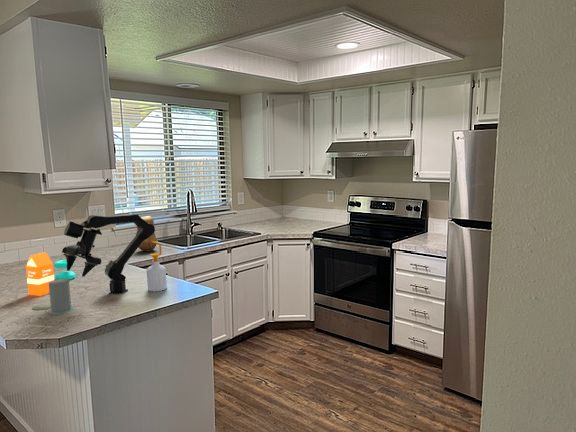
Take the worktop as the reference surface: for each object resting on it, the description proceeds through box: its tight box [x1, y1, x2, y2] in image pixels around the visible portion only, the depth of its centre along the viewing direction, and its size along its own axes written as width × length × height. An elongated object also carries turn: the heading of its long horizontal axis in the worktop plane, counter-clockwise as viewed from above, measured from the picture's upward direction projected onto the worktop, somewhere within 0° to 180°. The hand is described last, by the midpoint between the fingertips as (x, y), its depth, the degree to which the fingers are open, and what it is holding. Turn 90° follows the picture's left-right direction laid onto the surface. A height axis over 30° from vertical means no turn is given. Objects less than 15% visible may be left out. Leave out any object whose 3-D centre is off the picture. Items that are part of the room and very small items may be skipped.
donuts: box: [53, 259, 76, 281], centre depth 238 cm, size 10×10×10 cm
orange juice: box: [25, 251, 55, 297], centre depth 212 cm, size 8×9×20 cm
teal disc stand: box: [47, 305, 75, 315], centre depth 187 cm, size 10×10×4 cm
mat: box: [31, 302, 51, 312], centre depth 192 cm, size 10×10×1 cm
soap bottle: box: [146, 240, 168, 293], centre depth 214 cm, size 9×9×25 cm
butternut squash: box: [136, 215, 158, 252], centre depth 303 cm, size 14×13×25 cm
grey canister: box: [48, 279, 72, 313], centre depth 187 cm, size 8×8×12 cm
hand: (75, 273), depth 199 cm, fingers open, 9 cm apart
